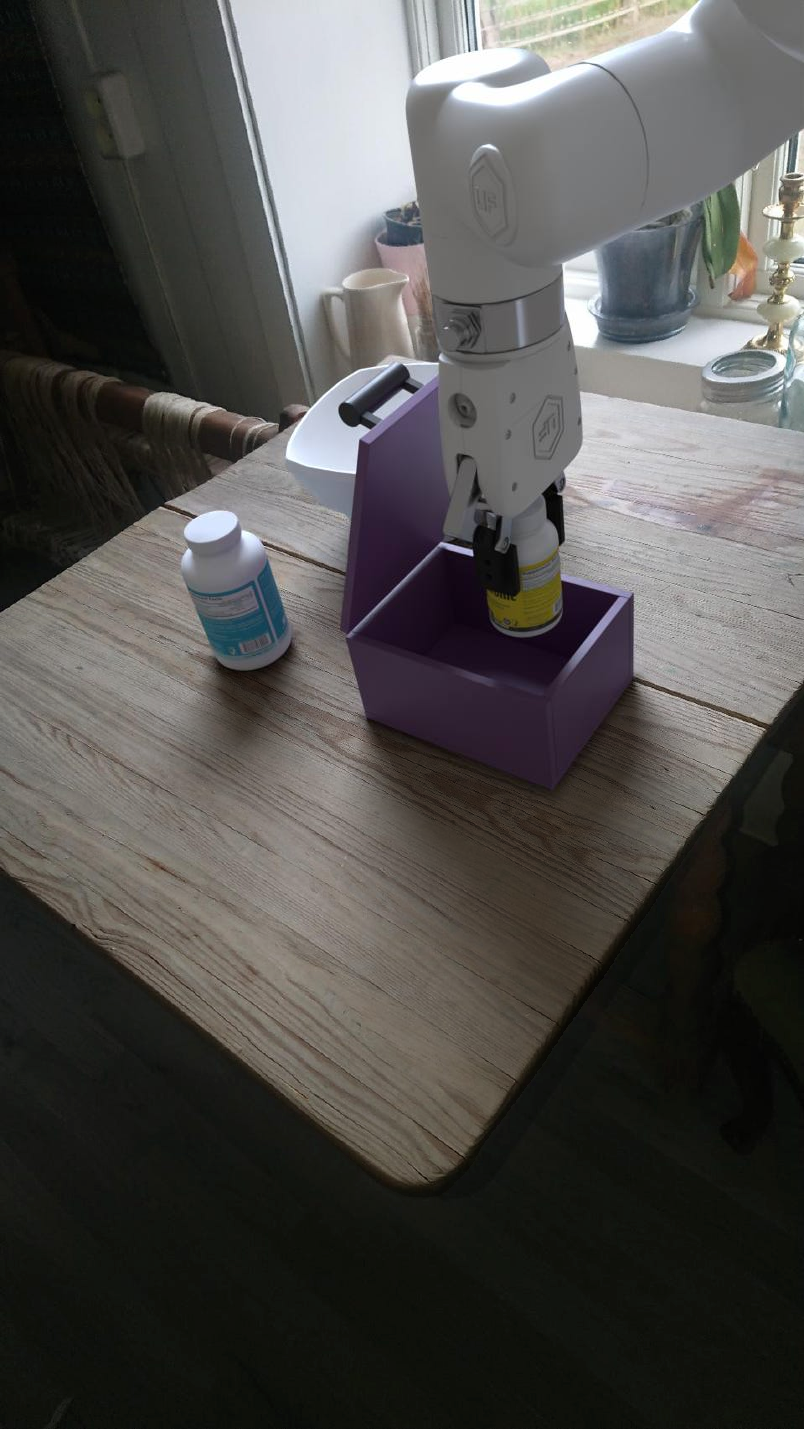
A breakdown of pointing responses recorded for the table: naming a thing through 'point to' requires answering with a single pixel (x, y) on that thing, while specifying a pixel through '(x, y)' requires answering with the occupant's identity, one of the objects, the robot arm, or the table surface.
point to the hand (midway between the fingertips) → (521, 562)
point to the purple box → (493, 668)
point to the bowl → (340, 439)
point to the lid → (392, 489)
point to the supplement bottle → (530, 576)
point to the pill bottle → (234, 592)
